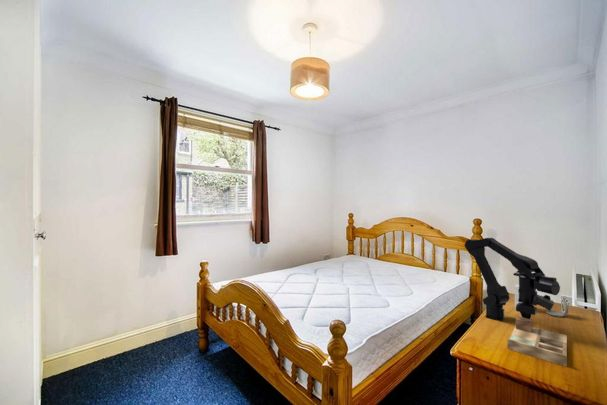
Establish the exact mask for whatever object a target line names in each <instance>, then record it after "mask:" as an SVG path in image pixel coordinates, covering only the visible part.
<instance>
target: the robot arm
mask: <svg viewBox="0 0 607 405" xmlns="http://www.w3.org/2000/svg"><path fill="white" fill-rule="evenodd" d="M487 247H488V248H490V249H491V250H492V251H494V252H495V253H497V254H499V255H500V256H501V257H503V258H505V259H506V260H508V261H509V263H511V265H512V267H514V268H515V269H516V272H514V273H513V274H512V275H513V276H515V277H518V285H519V290H518V292H519V299H518V302H521V303H518V304H517V305H516V309H515V312H519V313H520V315H521V317H524V318H528V319H532V315H534V316H536V312H537V307H536V306H539V307H542V308H544V309H546V311H547V310H552V309H553V307H554V305H555V302H554V300H552V299H551V296H550V295H553V296H558V294H559V293H560V291H561V285H560V283H559V281H557V279H558V278H556V277H553V276H552V277H550V276H546V274H545V273H544V271H543V270H542V268H540V266H539V263H538V262H537V260H535V259H533V258H532V257H528V256H526V255H523V254H519V253H517V252H515V251H514V250H513V249H511V248H509V247H507V246H506V245H504V244H503V243H501V242H499V241H497V240H496V239H495V238H493V237H485V238H481V239H480V238H479V239H477V238H476V239H467V240H466V241H465V242H464V248H465V249H466V250H467V252H468V254H469V255H471V257H473V258H474V260H475V262H476V264H477V267H478V269H479V271H480V273H481V276H482V277H483V280H484V282H485V284H486V295H487V296H486V297H484V298H482V303H483V305H484V306H485V311H486V312H485V313H486V314H485V316H484V317H485V318H487V319H491V320H495V321H499V322H502V321H503V320H504V319H505V308H504V306H506V304H507V303H508V302H509V300H510V298H511V297H510V295H511V294H510V293H509V291H508V289H507V287H506V286H505V285H501V284H500V283H499V281H498V280H497V277H496V276H495V273H494V271H493V270H492V267H491V265H490V263H489V261H488V259H487V257H486V255H485V254H486V248H487ZM538 292H540V293H545V294H544V295H539V294H538Z"/></svg>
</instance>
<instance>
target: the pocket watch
mask: <svg viewBox="0 0 607 405" xmlns="http://www.w3.org/2000/svg"><path fill="white" fill-rule="evenodd" d="M566 298H567V297H566V295H564V296H563V297H562V300H561V302H560V310H561V312H559V311H557V310H552V309H551V310H547V309H546V310H545V312H546V314H547V315H550V316H554V317H558V318H559V317H560V318H562V317H563V318H564V317H565V316H567V315H569V306H568V303H567V302H568V301H566Z"/></svg>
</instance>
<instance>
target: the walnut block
mask: <svg viewBox="0 0 607 405" xmlns="http://www.w3.org/2000/svg"><path fill="white" fill-rule="evenodd" d="M515 325H516V329H518V330H522V331H526V332H530V333H531V332H532V327H533V319H532V318H530V319H528V318H524V317H522V316H519V315H517V316H516V319H515Z"/></svg>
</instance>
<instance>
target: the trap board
mask: <svg viewBox="0 0 607 405" xmlns="http://www.w3.org/2000/svg"><path fill="white" fill-rule="evenodd" d="M567 336H568V335H566V334H562V333H560V332H559V333H557V332H553V331H549V330H546V329H543V328H542V329H541V328H538V327H534V326H532V332H531V333H530V332H526V331H522V330H518V329H516V324H515V325H514V328H513V330H512V332H511V334H510V337H509V338H507V350H509V351H514V352H517V353H521V354H524V355H527V356H530V357H533V358H536V359H540V360H543V361H546V362H550V363H553V364H556V365H561V366H562V367H563V366H564V367H567V366H568V363H567V362H568V359H567V358H568V357H567V356H568V355H567V354H568V353H567V352H568V351H567V350H568V348H567V347H568V346H567V345H568V342H567V341H568V338H567ZM567 368H568V367H567Z"/></svg>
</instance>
